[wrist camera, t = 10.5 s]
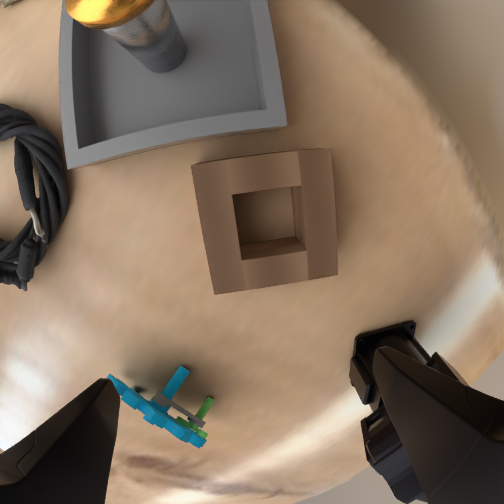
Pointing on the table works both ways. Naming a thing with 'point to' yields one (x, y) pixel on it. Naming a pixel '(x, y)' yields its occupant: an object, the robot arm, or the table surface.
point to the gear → (161, 405)
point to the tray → (170, 84)
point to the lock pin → (136, 29)
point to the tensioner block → (274, 251)
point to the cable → (32, 195)
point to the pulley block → (7, 3)
